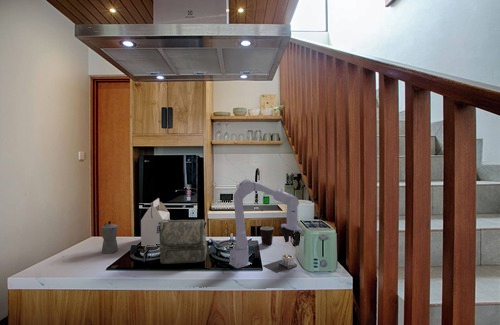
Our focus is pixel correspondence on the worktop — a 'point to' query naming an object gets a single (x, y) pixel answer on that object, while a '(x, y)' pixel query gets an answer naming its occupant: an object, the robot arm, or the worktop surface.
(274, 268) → the mat
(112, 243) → the coffeepot
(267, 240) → the coffee mug
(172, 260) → the lunch bag
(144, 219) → the gable box
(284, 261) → the ring
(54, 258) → the worktop surface
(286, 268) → the doorknob
